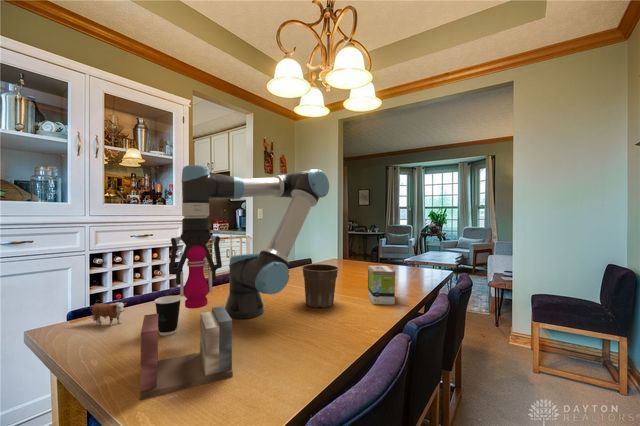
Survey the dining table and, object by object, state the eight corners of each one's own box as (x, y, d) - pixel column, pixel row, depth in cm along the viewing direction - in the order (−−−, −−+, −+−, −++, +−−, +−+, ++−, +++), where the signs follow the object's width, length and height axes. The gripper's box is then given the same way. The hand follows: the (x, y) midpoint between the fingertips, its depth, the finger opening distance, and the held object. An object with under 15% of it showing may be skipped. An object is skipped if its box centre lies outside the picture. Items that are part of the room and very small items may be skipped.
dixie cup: (152, 339, 90) (152, 303, 90) (155, 329, 97) (155, 297, 97) (180, 335, 93) (181, 301, 93) (181, 326, 100) (182, 294, 100)
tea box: (395, 304, 126) (395, 271, 126) (372, 304, 126) (372, 270, 126) (387, 295, 141) (388, 264, 141) (367, 295, 141) (367, 264, 141)
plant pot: (345, 302, 129) (345, 266, 129) (326, 312, 115) (326, 272, 115) (314, 296, 138) (315, 262, 138) (294, 305, 124) (294, 267, 124)
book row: (222, 351, 82) (222, 303, 82) (232, 376, 70) (233, 319, 70) (144, 368, 73) (144, 313, 73) (139, 399, 61) (140, 334, 61)
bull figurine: (120, 328, 98) (120, 304, 98) (87, 325, 101) (87, 301, 101) (131, 323, 102) (131, 300, 102) (99, 320, 105) (99, 298, 105)
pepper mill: (188, 301, 90) (188, 238, 90) (212, 301, 91) (211, 237, 91) (179, 309, 83) (178, 240, 83) (204, 309, 84) (204, 240, 84)
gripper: (157, 218, 79) (157, 301, 79) (232, 217, 88) (232, 291, 89) (158, 217, 85) (158, 294, 86) (227, 216, 95) (228, 286, 95)
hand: (196, 293), depth 87 cm, fingers closed on pepper mill, 7 cm apart
